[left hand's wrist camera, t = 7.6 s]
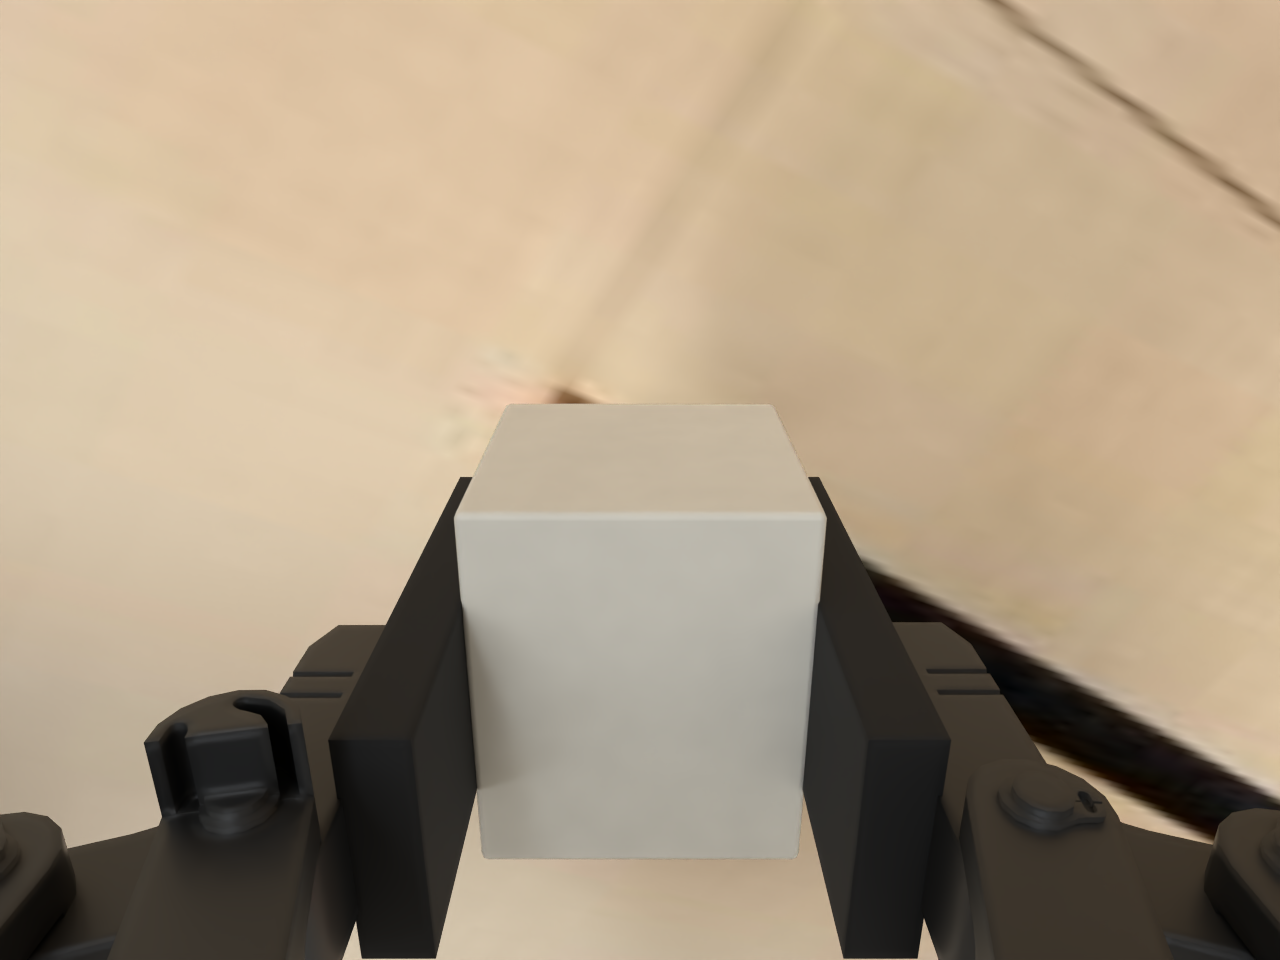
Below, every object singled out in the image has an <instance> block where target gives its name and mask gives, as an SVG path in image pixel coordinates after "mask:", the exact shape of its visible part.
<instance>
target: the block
mask: <svg viewBox="0 0 1280 960" xmlns="http://www.w3.org/2000/svg"><path fill="white" fill-rule="evenodd" d="M826 521H827V517H826V515H825V512H824V510H823V508H822V506H821V504H820V502H819V500H818V497H817V495H816V493H815V491H814V489H813V487H812V485H811V483H810V480H809V478H808V476H807V474H806V472H805V470H804V468H803V466H802V464H801V461H800V459H799V457H798V455H797V453H796V451H795V449H794V447H793V444H792V442H791V440H790V438H789V436H788V434H787V432H786V430H785V428H784V425H783V423H782V421H781V419H780V417H779V415H778V413H777V411H776V408H775V406H774V405H771V404H509V405H507V406H506V408H505V410H504V412H503V414H502V416H501V418H500V420H499V423H498V425H497V427H496V429H495V431H494V433H493V435H492V437H491V439H490V442H489V444H488V446H487V448H486V450H485V452H484V454H483V456H482V459H481V461H480V463H479V465H478V467H477V469H476V471H475V473H474V475H473V478H472V480H471V482H470V484H469V486H468V488H467V490H466V492H465V494H464V497H463V499H462V501H461V503H460V505H459V507H458V509H457V511H456V514H455V517H454V525H455V537H456V549H457V561H458V573H459V585H460V597H461V602H462V613H463V625H464V637H465V649H466V661H467V673H468V685H469V697H470V709H471V721H472V733H473V745H474V757H475V770H476V782H477V802H478V814H479V826H480V838H481V850H482V854H483V856H484V858H487V859H794V858H796V857H797V855H798V852H799V843H800V831H801V819H802V807H803V795H804V793H803V780H804V768H805V756H806V744H807V732H808V720H809V708H810V696H811V683H812V671H813V659H814V647H815V635H816V623H817V611H818V604H819V601H820V593H821V581H822V569H823V557H824V545H825V533H826Z"/></svg>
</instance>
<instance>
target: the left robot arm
mask: <svg viewBox="0 0 1280 960" xmlns="http://www.w3.org/2000/svg"><path fill="white" fill-rule="evenodd" d="M472 478H473V477H460V479H459V481H458V483H457V485H456V487H455V489H454V491H453V493H452V495H451V497H450V499H449V501H448V503H447V505H446V507H445V509H444V511H443V513H442V515H441V517H440V519H439V521H438V523H437V525H436V526H435V528H434V530H433V532H432V534H431V536H430V538H429V540H428V542H427V544H426V546H425V548H424V550H423V552H422V554H421V556H420V558H419V560H418V562H417V564H416V566H415V568H414V570H413V572H412V574H411V576H410V578H409V580H408V582H407V584H406V586H405V588H404V590H403V592H402V594H401V596H400V598H399V600H398V602H397V604H396V606H395V608H394V610H393V612H392V614H391V616H390V618H389V620H388V622H387V624H386V625H338V626H337V627H335V628H334V629H333V630H331V631H330V632H329V633H327V634H326V635H324V636H323V637H322V638H320V639H319V640H318V641H316V642H315V643H314V644H312V645H311V646H309V648H308V649H307V651H306V652H305V654H304V656H303V657H302V659H301V660H300V662H299V663H298V665H297V667H296V668H295V670H294V671H293V677H290V678H289V679H288V681H287V683H286V684H285V686H284V687H283V689H282V690H281V692H280V694H278V693H274V692H271V691H267V690H238V691H233V692H228V693H224V694H219V695H214V696H210V697H207V698H205V699H202V700H200V701H197V702H195V703H193V704H190V705H188V706H186V707H183V708H181V709H179V710H178V711H177V712H175V713H174V714H172V715H171V716H169V717H168V718H166V719H165V720H164V721H162V722H161V723H159V724H158V725H157V726H156V728H155V729H154V730H153V731H152V733H151V734H150V735H149V737H148V738H147V739H146V740H145V742H144V745H145V749H146V753H147V757H148V762H149V766H150V770H151V774H152V778H153V782H154V786H155V790H156V794H157V798H158V802H159V806H160V810H161V814H162V819H161V821H160V824H159V826H157V827H154V828H151V829H148V830H144V831H141V832H138V833H134V834H131V835H126V836H122V837H117V838H113V839H108V840H104V841H99V842H95V843H91V844H86V845H82V846H77V847H73V848H68V849H67V846H66V843H65V839H64V836H63V833H62V829H61V828H60V827H59V826H58V825H57V824H56V823H55V822H53V821H52V820H51V819H50V818H49V817H48V816H43V815H37V814H32V813H27V812H21V813H11V814H2V815H0V960H342V959H343V956H344V953H345V950H346V947H347V944H348V942H349V939H350V936H351V933H352V930H353V928H354V925H355V922H356V924H357V930H358V936H359V943H360V949H361V956H362V959H436V955H437V951H438V947H439V943H440V939H441V935H442V931H443V927H444V922H445V918H446V914H447V910H448V906H449V902H450V898H451V894H452V890H453V885H454V881H455V877H456V873H457V869H458V865H459V861H460V857H461V853H462V848H463V844H464V840H465V836H466V832H467V828H468V824H469V820H470V816H471V811H472V807H473V803H474V799H475V795H476V791H477V782H476V770H475V757H474V745H473V733H472V721H471V709H470V697H469V685H468V673H467V661H466V649H465V637H464V625H463V613H462V602H461V597H460V585H459V573H458V561H457V549H456V537H455V525H454V517H455V514H456V511H457V509H458V507H459V505H460V503H461V501H462V499H463V497H464V494H465V492H466V490H467V488H468V486H469V484H470V482H471V480H472ZM808 478H809V480H810V483H811V485H812V487H813V489H814V491H815V493H816V495H817V497H818V500H819V502H820V504H821V506H822V508H823V510H824V512H825V515H826V517H827V521H826V533H825V545H824V557H823V569H822V581H821V593H820V601H819V604H818V611H817V623H816V635H815V647H814V659H813V671H812V683H811V696H810V708H809V720H808V732H807V744H806V756H805V768H804V780H803V793H804V798H805V802H806V806H807V810H808V814H809V818H810V822H811V826H812V830H813V835H814V839H815V843H816V847H817V851H818V855H819V859H820V863H821V868H822V872H823V876H824V880H825V884H826V888H827V892H828V896H829V900H830V905H831V909H832V913H833V917H834V921H835V925H836V929H837V933H838V937H839V942H840V946H841V950H842V954H843V958H844V959H917V958H918V952H919V945H920V939H921V932H922V926H923V919H925V922H926V925H927V928H928V931H929V933H930V936H931V939H932V942H933V945H934V947H935V950H936V953H937V956H938V960H1280V811H1277V810H1268V809H1259V808H1254V809H1249V810H1244V811H1238V812H1233V813H1231V814H1230V815H1229V816H1228V817H1227V818H1226V819H1225V820H1224V821H1222V822H1221V823H1220V824H1219V827H1218V830H1217V833H1216V837H1215V840H1214V843H1213V845H1211V844H1206V843H1202V842H1197V841H1193V840H1188V839H1184V838H1179V837H1175V836H1170V835H1166V834H1161V833H1157V832H1152V831H1148V830H1145V829H1141V828H1138V827H1134V826H1131V825H1128V824H1124V823H1122V822H1120V820H1119V817H1118V815H1117V814H1116V812H1115V811H1114V809H1113V808H1112V806H1111V805H1110V803H1109V802H1108V800H1107V799H1106V797H1105V796H1104V795H1103V794H1101V793H1100V792H1099V791H1098V790H1096V789H1095V788H1094V787H1093V786H1091V785H1090V784H1089V783H1087V782H1086V781H1085V780H1084V779H1082V778H1080V777H1078V776H1076V775H1074V774H1071V773H1069V772H1067V771H1065V770H1063V769H1061V768H1059V767H1057V766H1053V765H1049V764H1047V763H1046V762H1045V760H1044V759H1043V757H1042V756H1041V754H1040V752H1039V751H1038V749H1037V748H1036V746H1035V745H1034V743H1033V741H1032V740H1031V738H1030V737H1029V735H1028V733H1027V732H1026V730H1025V729H1024V727H1023V726H1022V724H1021V722H1020V721H1019V719H1018V718H1017V716H1016V715H1015V713H1014V711H1013V710H1012V708H1011V707H1010V705H1009V703H1008V702H1007V700H1006V699H1005V697H1004V696H1003V695H1000V689H999V688H998V686H997V685H996V683H995V681H994V680H993V678H992V677H991V675H990V674H987V669H986V667H985V666H984V664H983V662H982V661H981V659H980V658H979V656H978V655H977V653H976V651H975V650H974V648H973V647H972V645H971V644H970V643H969V642H967V641H966V640H965V639H963V638H962V637H961V636H959V635H958V634H956V633H955V632H954V631H952V630H951V629H950V628H948V627H947V626H945V625H944V624H943V623H941V622H892V621H891V619H890V617H889V615H888V613H887V611H886V609H885V607H884V605H883V603H882V601H881V599H880V597H879V595H878V593H877V591H876V589H875V587H874V585H873V583H872V581H871V579H870V577H869V575H868V573H867V571H866V570H865V568H864V566H863V564H862V562H861V560H860V558H859V556H858V554H857V552H856V550H855V548H854V546H853V544H852V542H851V540H850V538H849V536H848V534H847V532H846V530H845V528H844V526H843V524H842V522H841V520H840V518H839V516H838V514H837V512H836V510H835V508H834V506H833V504H832V502H831V500H830V498H829V496H828V494H827V492H826V490H825V488H824V486H823V484H822V482H821V480H820V478H819V477H808Z"/></svg>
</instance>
